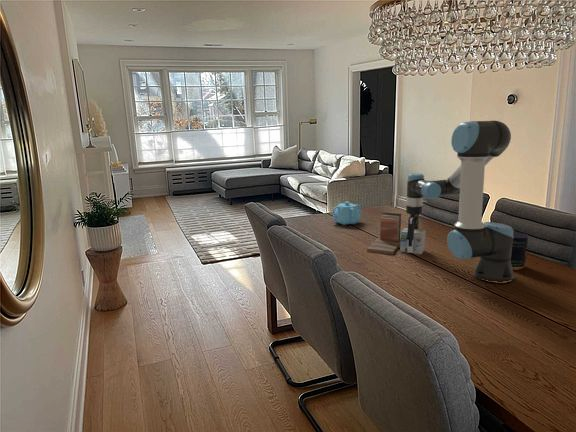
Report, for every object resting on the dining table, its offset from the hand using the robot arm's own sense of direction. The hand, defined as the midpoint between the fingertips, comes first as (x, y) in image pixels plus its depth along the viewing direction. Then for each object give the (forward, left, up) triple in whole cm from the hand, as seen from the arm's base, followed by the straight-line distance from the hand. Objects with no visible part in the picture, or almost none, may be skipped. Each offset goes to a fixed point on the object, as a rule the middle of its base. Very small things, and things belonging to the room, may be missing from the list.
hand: (412, 249), depth 222 cm
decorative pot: (+39, +48, -1) cm, 62 cm away
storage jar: (-4, -45, -1) cm, 45 cm away
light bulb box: (0, 0, -1) cm, 1 cm away
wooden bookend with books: (+2, +14, -1) cm, 14 cm away
